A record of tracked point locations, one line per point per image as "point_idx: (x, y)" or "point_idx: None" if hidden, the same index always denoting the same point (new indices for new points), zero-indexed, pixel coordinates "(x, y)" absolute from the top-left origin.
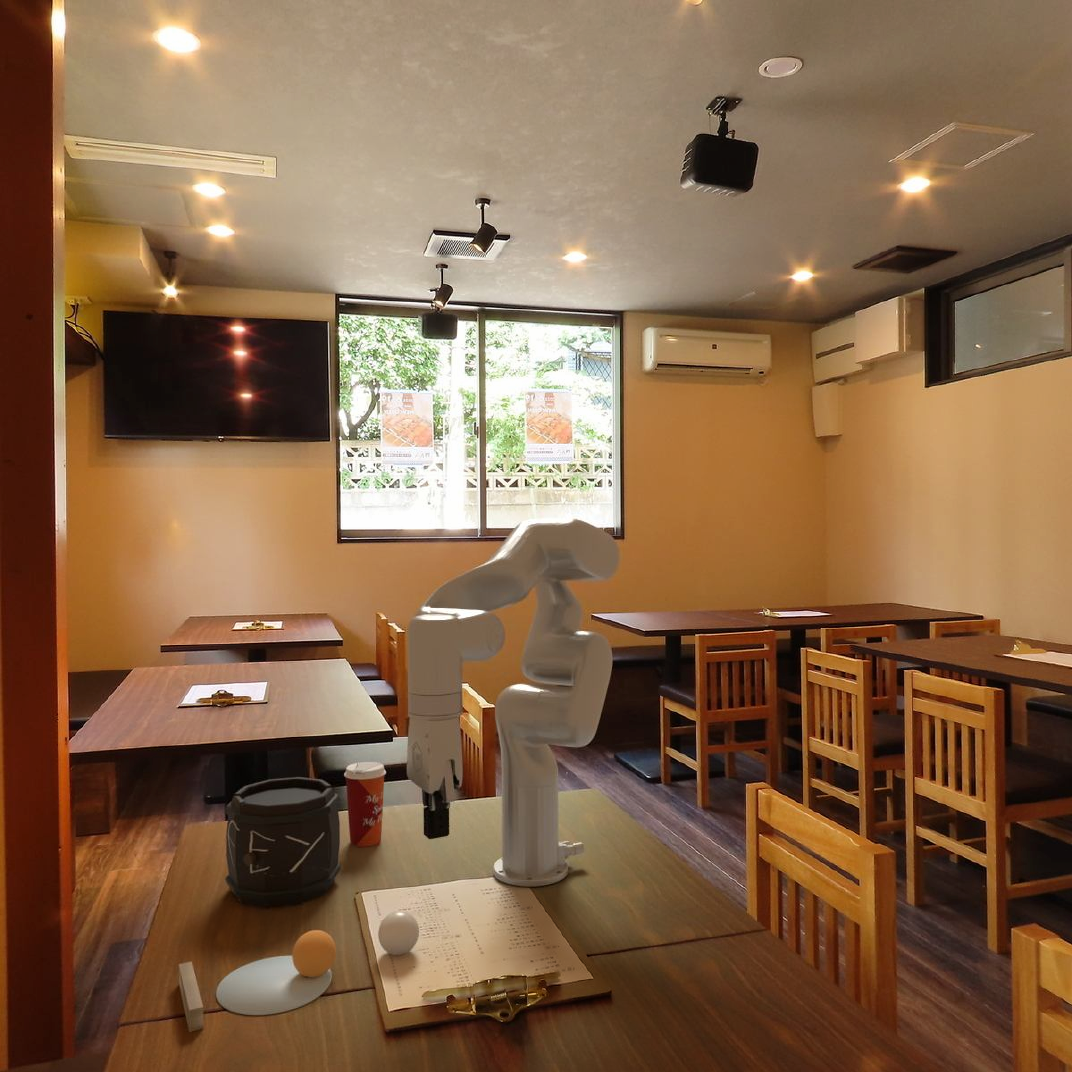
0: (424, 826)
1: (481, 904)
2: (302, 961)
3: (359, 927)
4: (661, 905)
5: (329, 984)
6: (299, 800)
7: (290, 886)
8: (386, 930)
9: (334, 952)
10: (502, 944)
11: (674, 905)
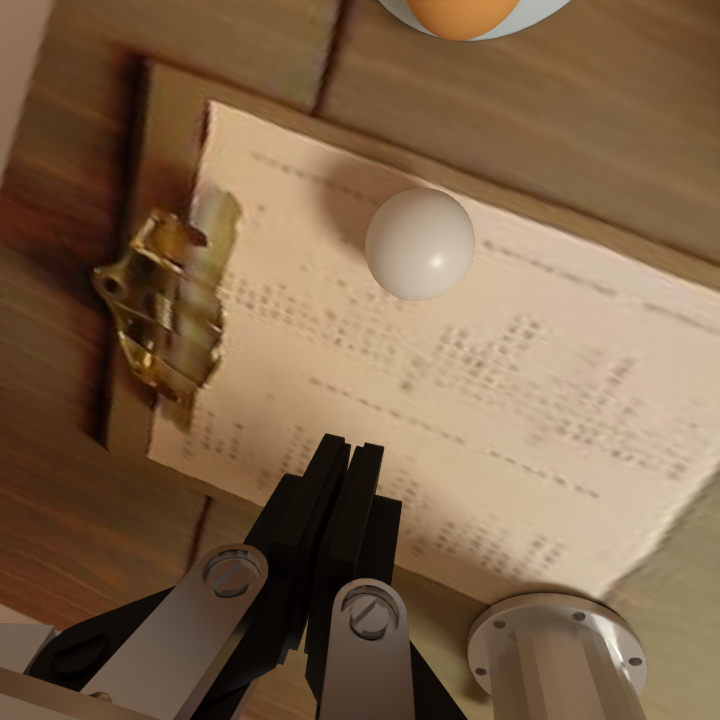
0: (363, 471)
1: (498, 503)
2: None
3: (624, 224)
4: (284, 668)
5: (387, 9)
6: None
7: None
8: (399, 197)
9: (418, 15)
10: (319, 427)
11: (273, 676)
